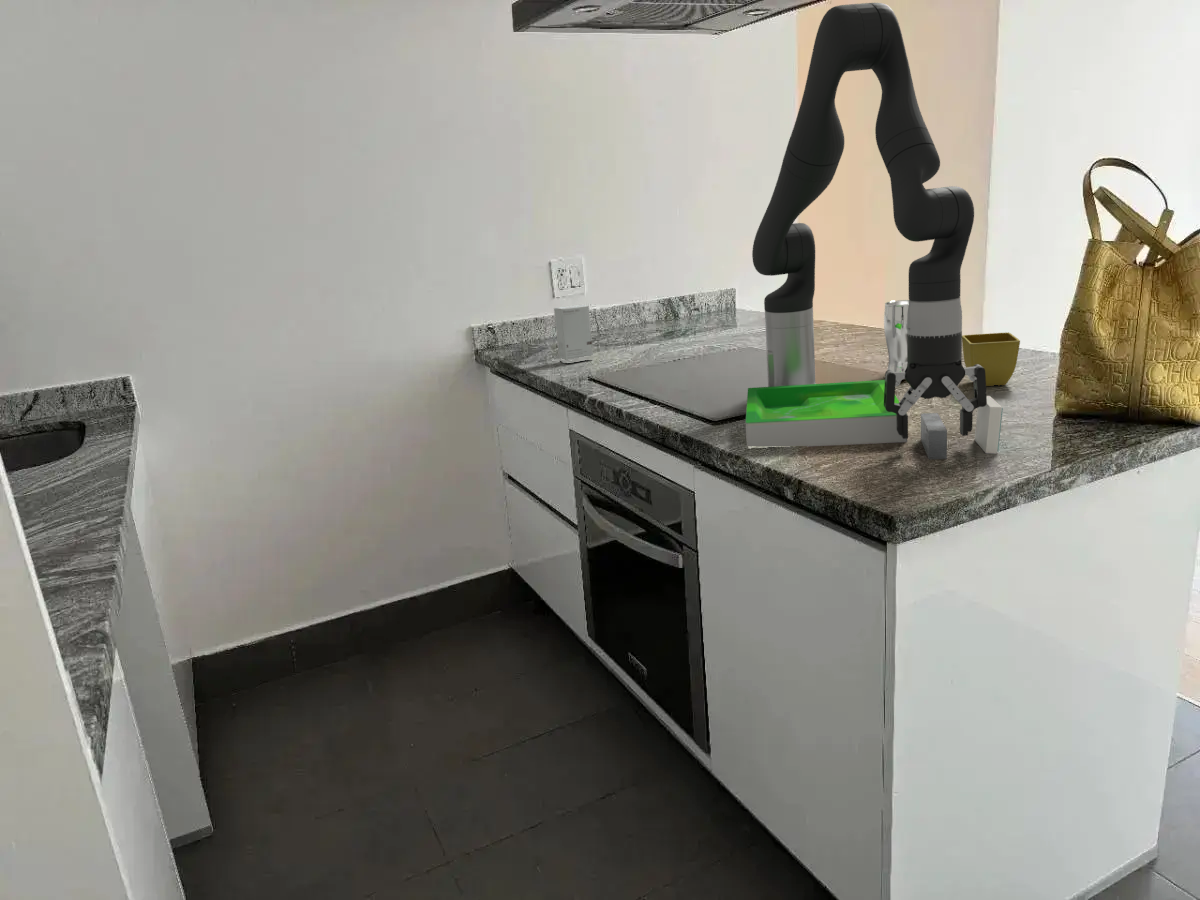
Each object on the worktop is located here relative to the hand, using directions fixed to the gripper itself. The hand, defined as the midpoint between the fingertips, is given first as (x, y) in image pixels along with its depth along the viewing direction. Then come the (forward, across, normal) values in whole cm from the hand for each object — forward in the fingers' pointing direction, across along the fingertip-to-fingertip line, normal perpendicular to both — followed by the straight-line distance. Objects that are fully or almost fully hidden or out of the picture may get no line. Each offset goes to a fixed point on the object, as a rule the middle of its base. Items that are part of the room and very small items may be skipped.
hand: (934, 436), depth 131 cm
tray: (+3, -16, +17) cm, 23 cm away
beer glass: (+2, +3, +53) cm, 53 cm away
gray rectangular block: (+2, 0, 0) cm, 2 cm away
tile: (+2, +7, 0) cm, 8 cm away
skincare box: (+1, -75, +94) cm, 120 cm away
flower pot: (+2, +17, +40) cm, 44 cm away
